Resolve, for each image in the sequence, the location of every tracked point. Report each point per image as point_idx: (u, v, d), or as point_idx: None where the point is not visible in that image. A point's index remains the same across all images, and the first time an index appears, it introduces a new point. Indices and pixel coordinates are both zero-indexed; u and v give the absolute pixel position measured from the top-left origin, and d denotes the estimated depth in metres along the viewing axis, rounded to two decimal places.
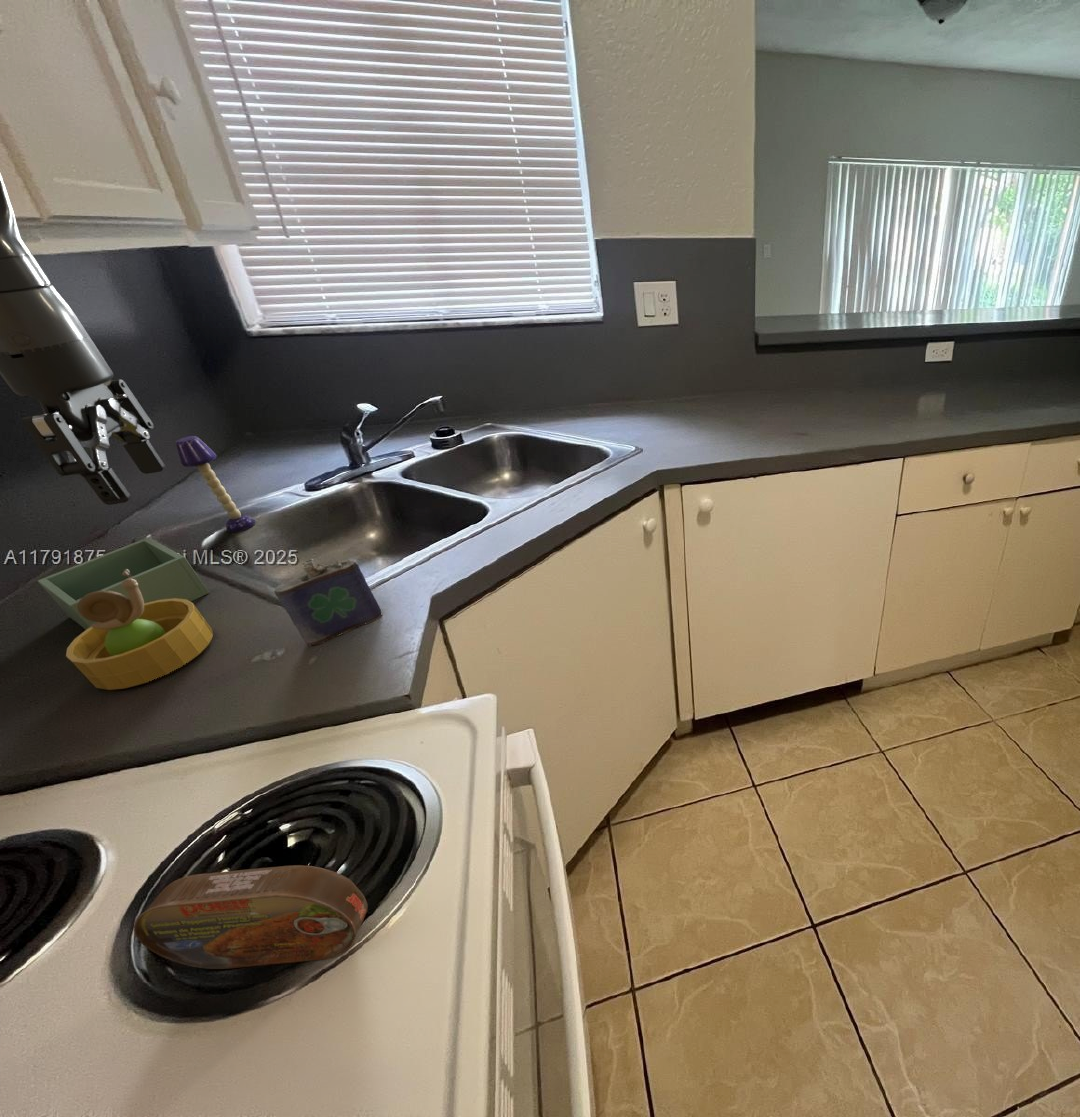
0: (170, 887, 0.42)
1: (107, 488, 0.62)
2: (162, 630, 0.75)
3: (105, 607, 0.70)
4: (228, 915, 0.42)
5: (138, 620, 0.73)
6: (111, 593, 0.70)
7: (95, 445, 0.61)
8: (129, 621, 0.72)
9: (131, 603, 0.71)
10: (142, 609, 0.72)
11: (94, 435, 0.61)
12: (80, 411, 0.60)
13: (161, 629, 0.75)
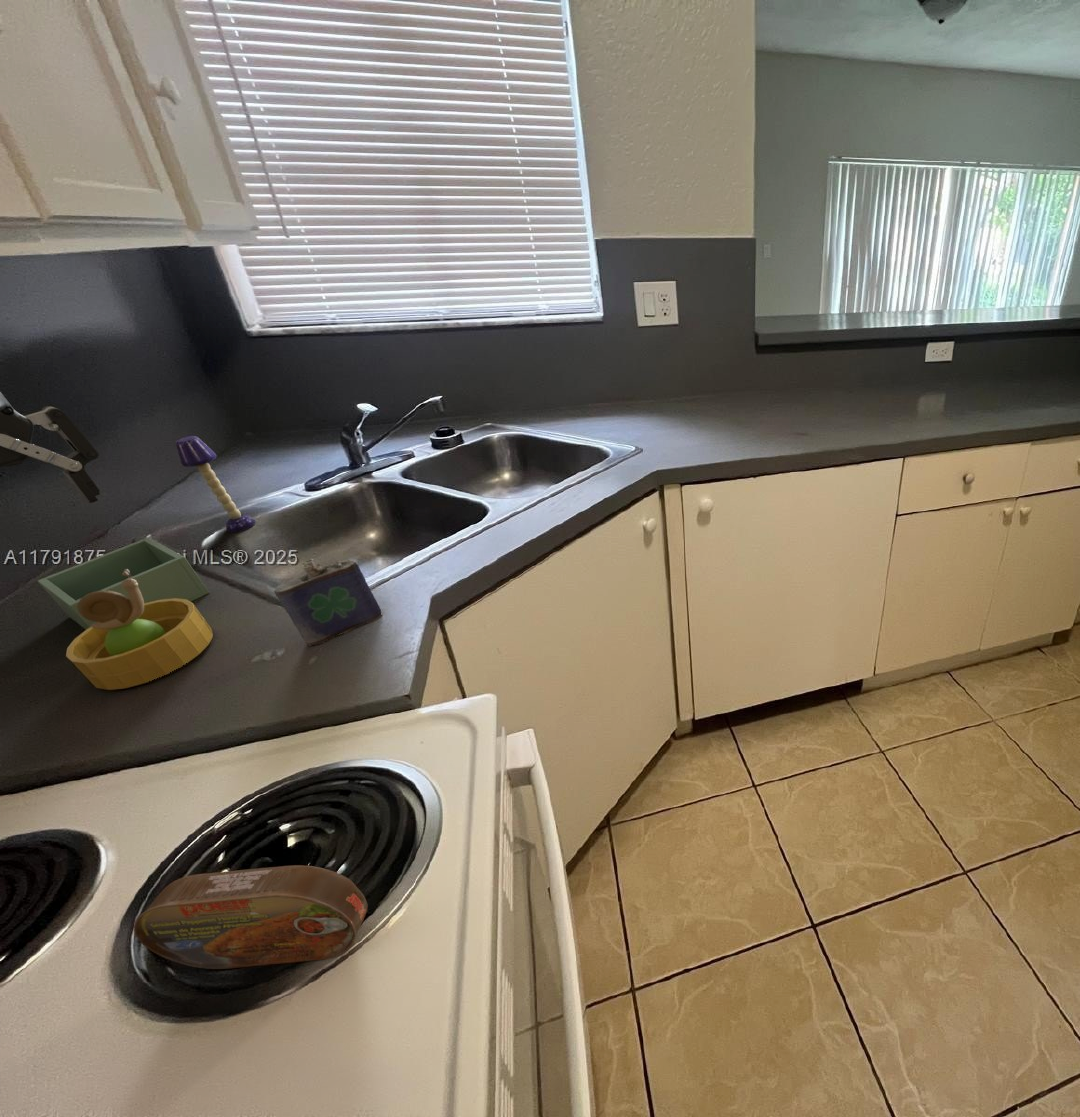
0: (170, 887, 0.42)
1: None
2: (162, 630, 0.75)
3: (105, 607, 0.70)
4: (228, 915, 0.42)
5: (138, 620, 0.73)
6: (111, 593, 0.70)
7: None
8: (129, 621, 0.72)
9: (131, 603, 0.71)
10: (142, 609, 0.72)
11: None
12: None
13: (161, 629, 0.75)
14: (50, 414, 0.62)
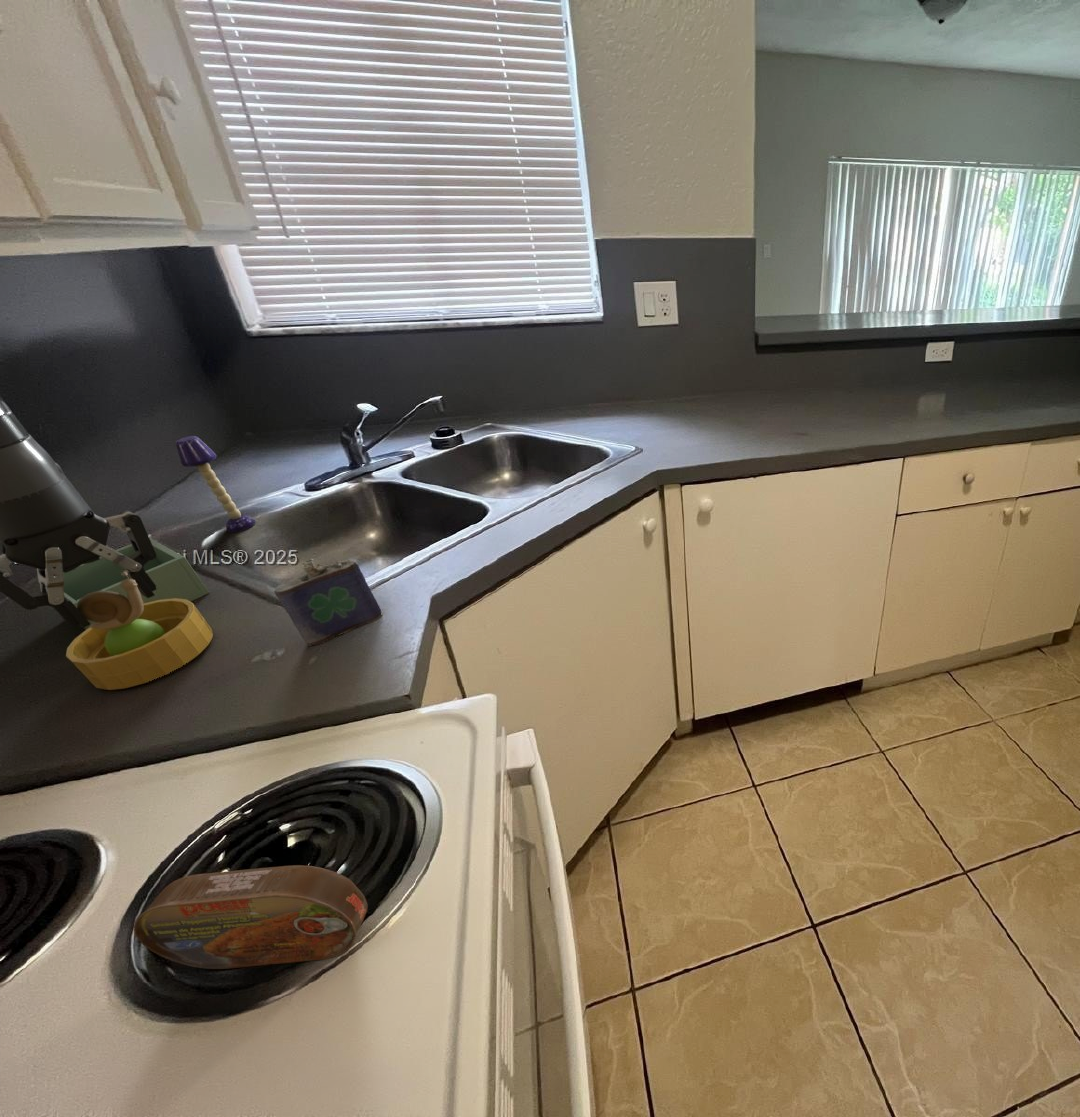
0: (170, 887, 0.42)
1: (62, 617, 0.67)
2: (162, 630, 0.75)
3: (104, 607, 0.70)
4: (228, 915, 0.42)
5: (138, 620, 0.73)
6: (110, 593, 0.70)
7: (47, 584, 0.65)
8: (128, 621, 0.72)
9: (130, 603, 0.71)
10: (141, 609, 0.72)
11: (46, 576, 0.65)
12: (30, 553, 0.63)
13: (161, 629, 0.75)
14: (127, 519, 0.69)
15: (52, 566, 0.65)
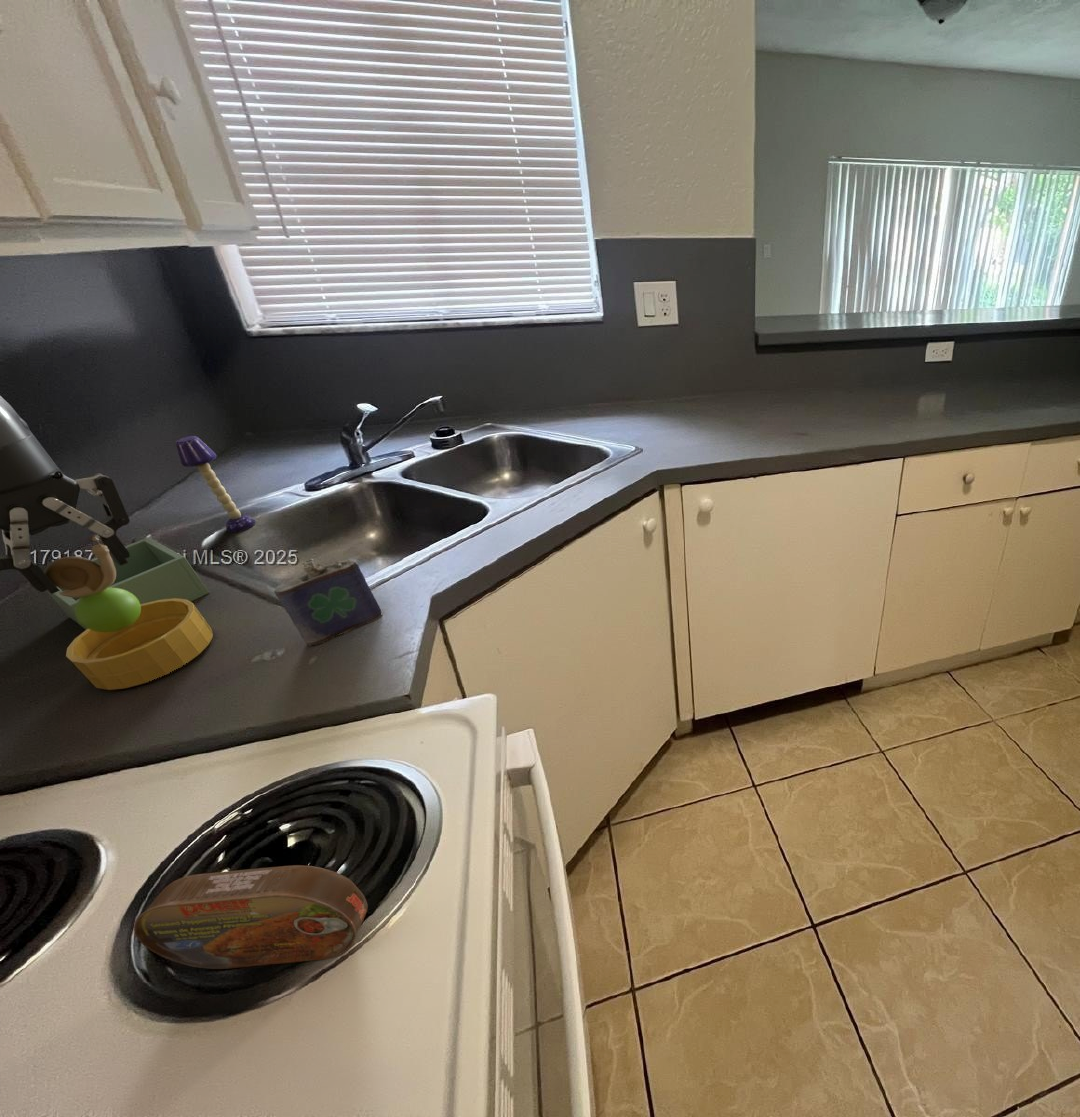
0: (170, 887, 0.42)
1: (29, 582, 0.64)
2: (136, 599, 0.72)
3: (74, 574, 0.68)
4: (228, 915, 0.42)
5: (110, 588, 0.70)
6: (80, 559, 0.67)
7: (12, 547, 0.62)
8: (100, 589, 0.69)
9: (102, 570, 0.69)
10: (114, 577, 0.70)
11: (10, 537, 0.62)
12: None
13: (134, 598, 0.72)
14: (99, 481, 0.66)
15: (17, 527, 0.62)
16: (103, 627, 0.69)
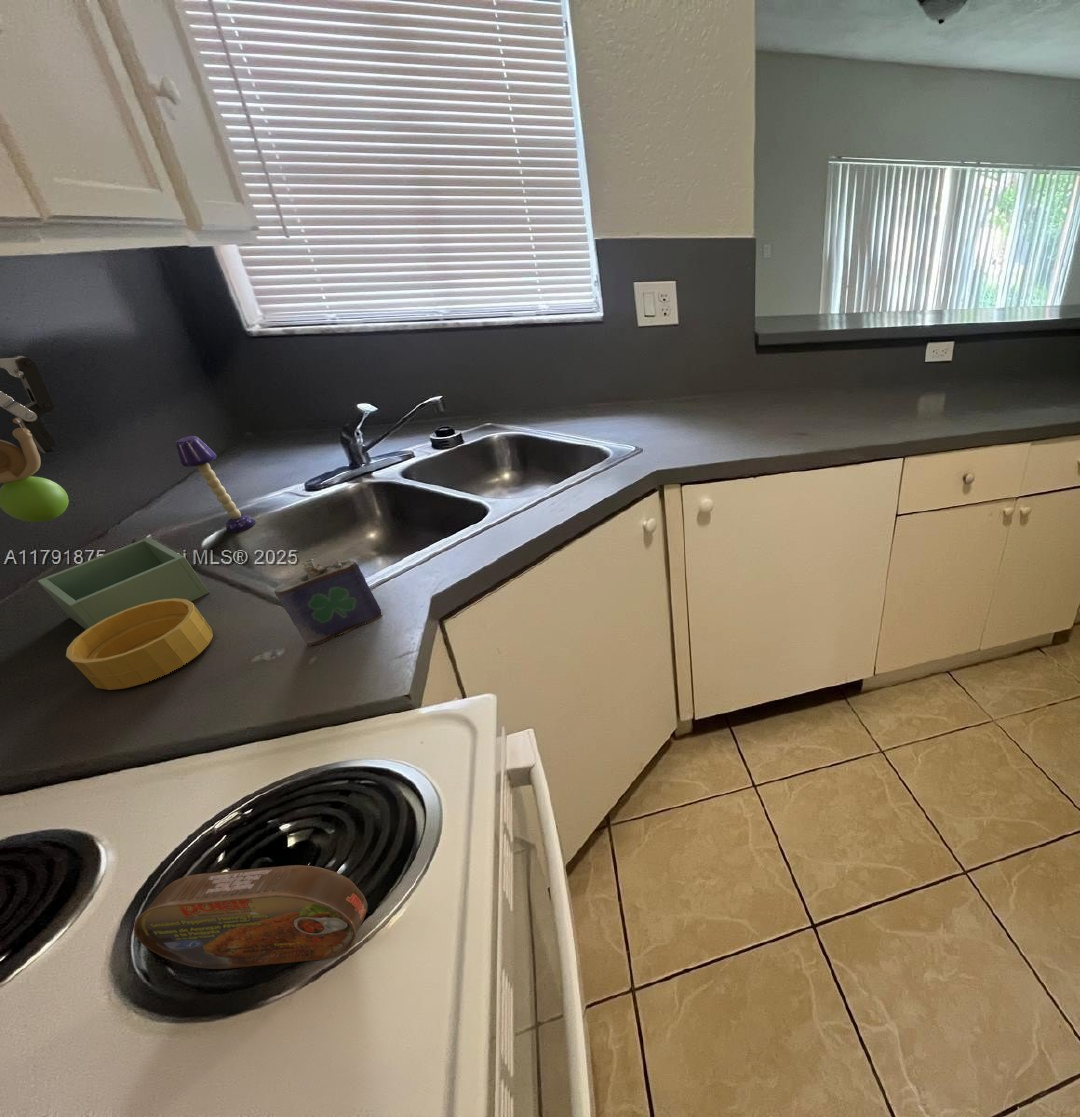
0: (170, 887, 0.42)
1: None
2: (62, 490, 0.71)
3: None
4: (228, 915, 0.42)
5: (35, 477, 0.69)
6: (1, 441, 0.66)
7: None
8: (23, 475, 0.68)
9: (24, 455, 0.68)
10: (38, 464, 0.68)
11: None
12: None
13: (61, 489, 0.71)
14: (20, 361, 0.65)
15: None
16: (26, 515, 0.68)
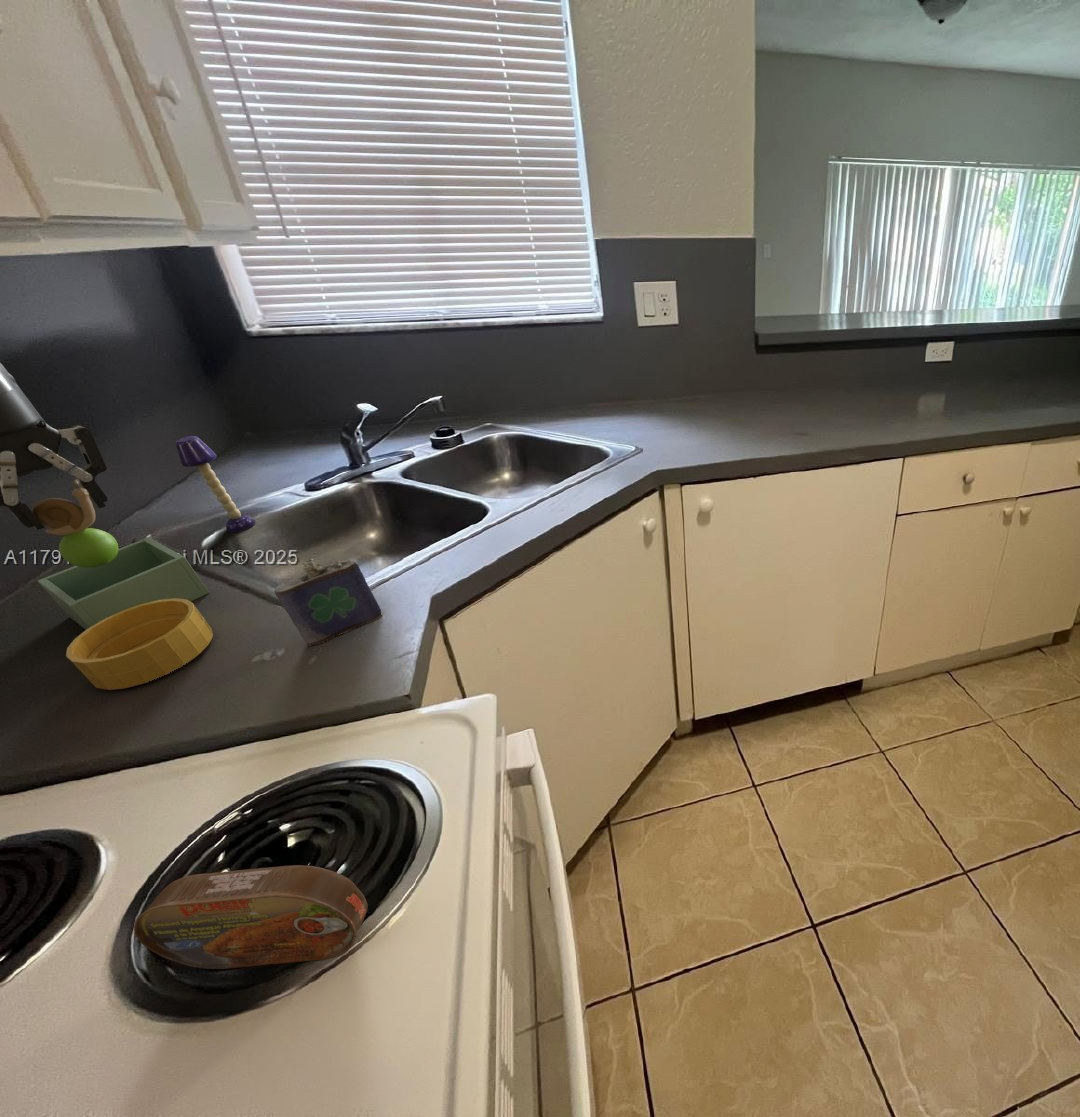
0: (170, 887, 0.42)
1: (18, 518, 0.73)
2: (113, 539, 0.81)
3: (57, 513, 0.77)
4: (228, 915, 0.42)
5: (90, 529, 0.80)
6: (63, 500, 0.76)
7: (2, 486, 0.71)
8: (81, 528, 0.78)
9: (82, 511, 0.78)
10: (93, 518, 0.79)
11: (1, 477, 0.71)
12: None
13: (112, 538, 0.81)
14: (78, 431, 0.76)
15: (6, 468, 0.71)
16: (84, 562, 0.79)
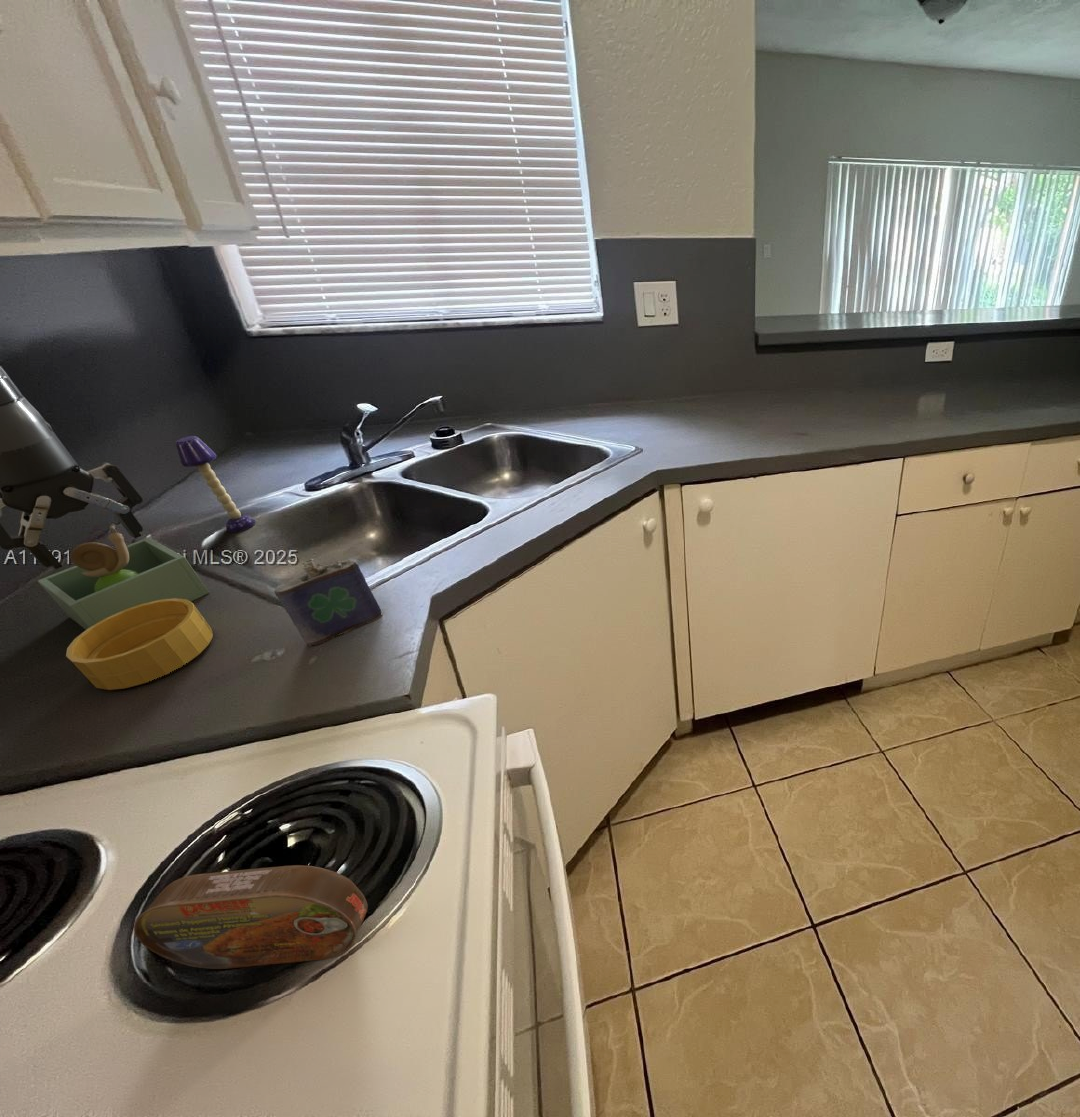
0: (170, 887, 0.42)
1: (36, 558, 0.76)
2: None
3: (94, 557, 0.81)
4: (228, 915, 0.42)
5: (124, 570, 0.84)
6: (99, 544, 0.80)
7: (27, 527, 0.74)
8: (116, 570, 0.82)
9: (117, 554, 0.82)
10: (127, 560, 0.83)
11: (29, 519, 0.74)
12: (23, 500, 0.73)
13: None
14: (106, 470, 0.79)
15: (38, 512, 0.74)
16: None
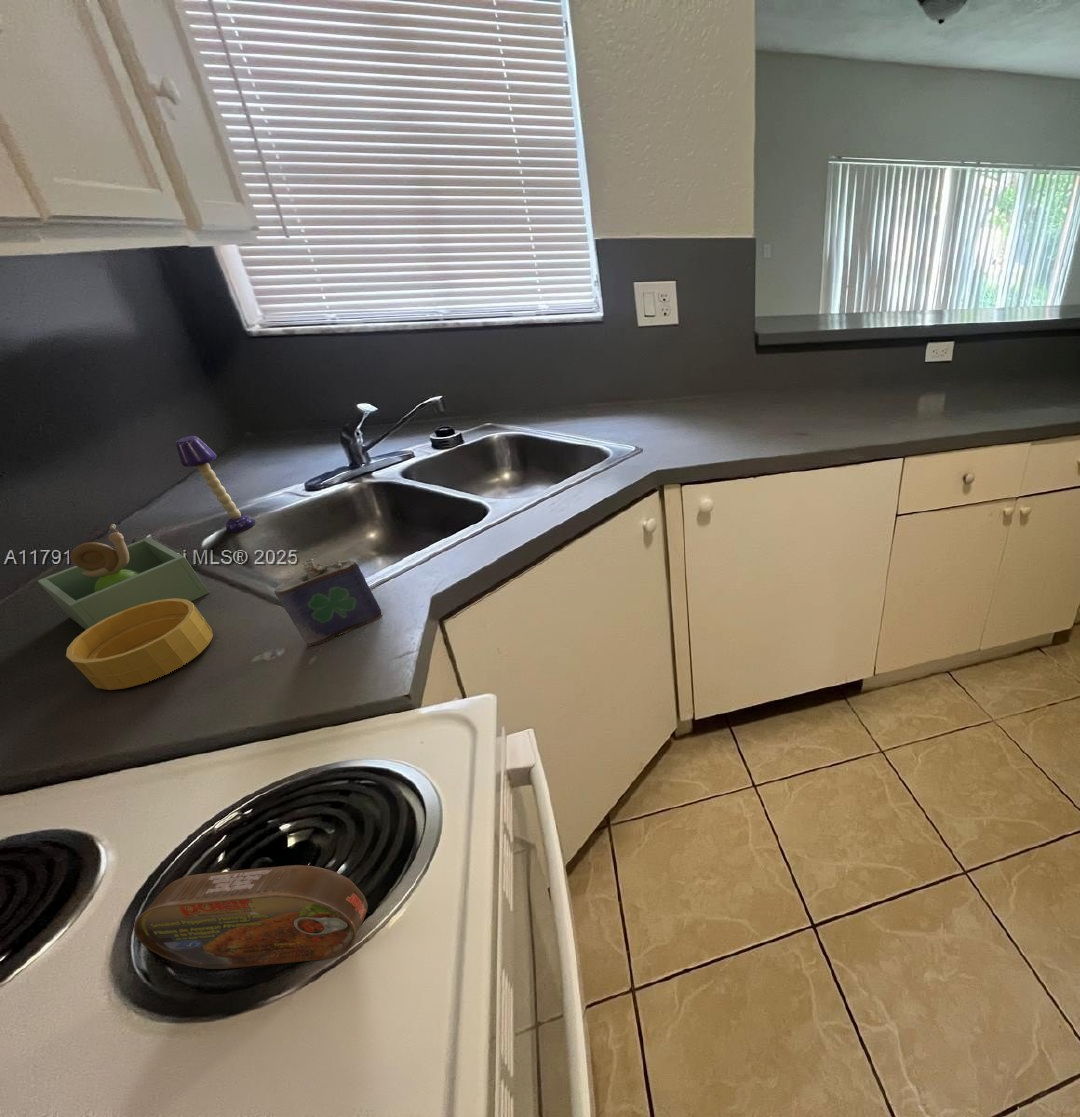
0: (170, 887, 0.42)
1: None
2: None
3: (94, 557, 0.81)
4: (228, 915, 0.42)
5: (124, 570, 0.84)
6: (99, 544, 0.80)
7: None
8: (116, 570, 0.82)
9: (117, 554, 0.82)
10: (127, 560, 0.83)
11: None
12: None
13: None
14: None
15: None
16: None
